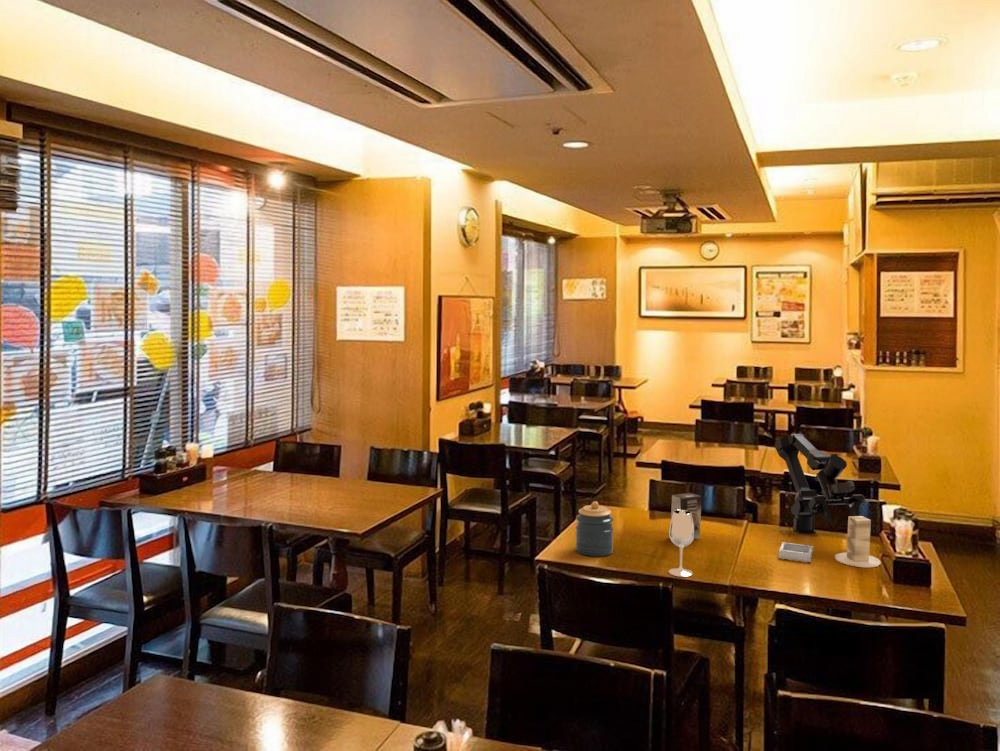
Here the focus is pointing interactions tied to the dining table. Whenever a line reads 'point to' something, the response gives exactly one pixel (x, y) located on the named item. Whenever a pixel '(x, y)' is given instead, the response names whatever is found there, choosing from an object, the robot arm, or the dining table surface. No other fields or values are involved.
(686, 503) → the coffee box
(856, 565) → the plate
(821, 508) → the robot arm
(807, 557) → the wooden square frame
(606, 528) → the canister
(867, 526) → the maple block
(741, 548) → the dining table surface
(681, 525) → the wineglass
